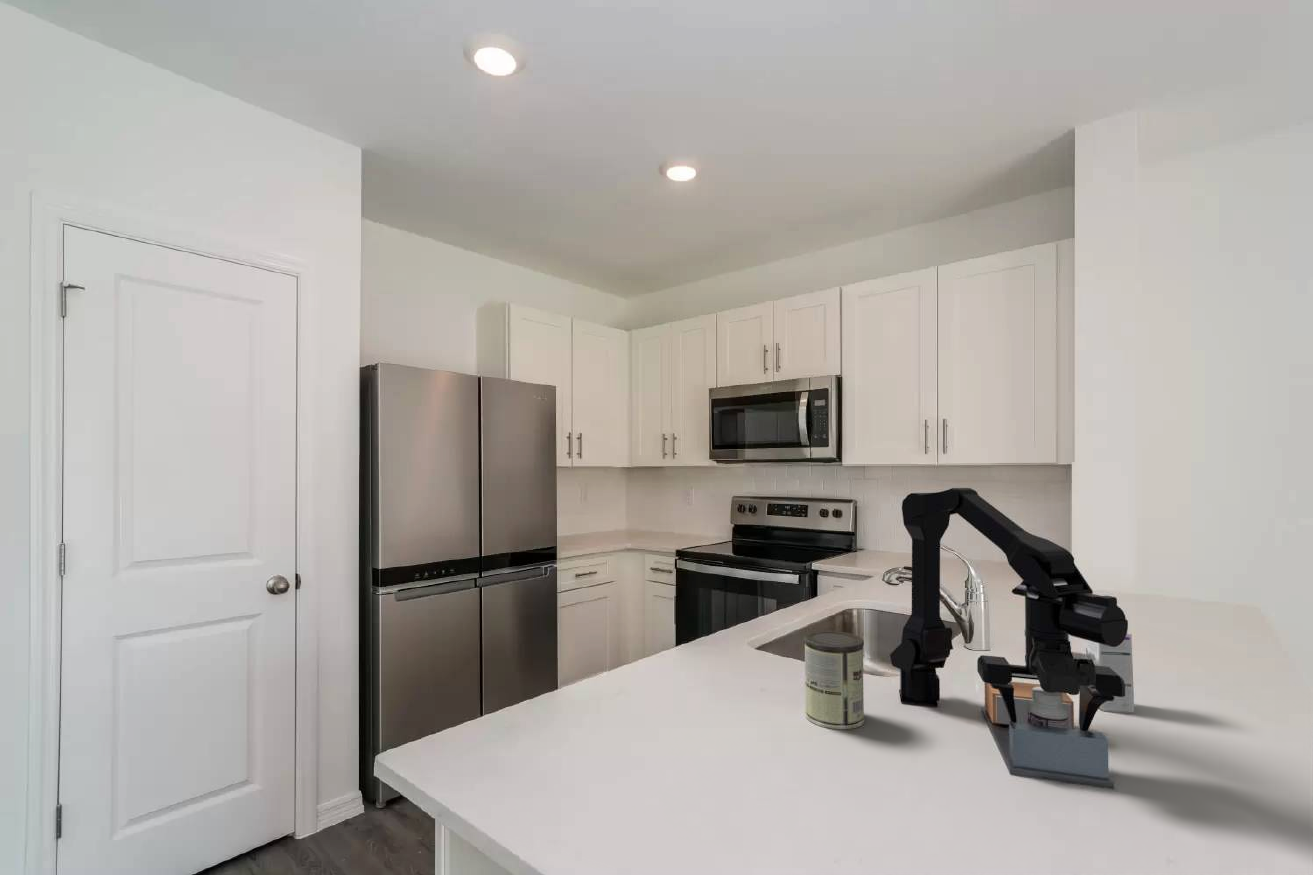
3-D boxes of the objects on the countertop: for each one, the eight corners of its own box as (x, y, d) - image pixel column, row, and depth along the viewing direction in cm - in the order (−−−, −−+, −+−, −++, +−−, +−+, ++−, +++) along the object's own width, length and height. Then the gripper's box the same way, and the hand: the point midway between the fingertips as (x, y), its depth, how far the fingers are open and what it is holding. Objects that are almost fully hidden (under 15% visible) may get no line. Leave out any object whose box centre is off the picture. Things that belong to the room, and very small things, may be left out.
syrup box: (1135, 713, 116) (1134, 633, 116) (1099, 711, 117) (1098, 631, 118) (1119, 702, 122) (1118, 625, 122) (1085, 699, 123) (1084, 623, 123)
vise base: (981, 712, 116) (980, 676, 116) (1063, 721, 112) (1062, 684, 112) (1010, 774, 93) (1009, 729, 94) (1114, 789, 89) (1113, 742, 90)
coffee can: (810, 702, 120) (810, 627, 121) (867, 712, 116) (867, 634, 116) (798, 723, 111) (798, 641, 112) (860, 734, 107) (859, 649, 107)
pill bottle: (1019, 747, 100) (1019, 684, 100) (1051, 745, 100) (1050, 684, 101) (1043, 763, 95) (1042, 697, 95) (1077, 762, 95) (1076, 696, 95)
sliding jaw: (984, 706, 116) (984, 678, 116) (1060, 715, 112) (1060, 686, 112) (993, 724, 108) (993, 694, 108) (1075, 733, 104) (1074, 702, 104)
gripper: (989, 637, 93) (990, 745, 93) (1139, 649, 88) (1142, 764, 87) (976, 618, 104) (977, 715, 103) (1110, 629, 98) (1111, 731, 98)
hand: (1047, 731), depth 98 cm, fingers open, 9 cm apart
